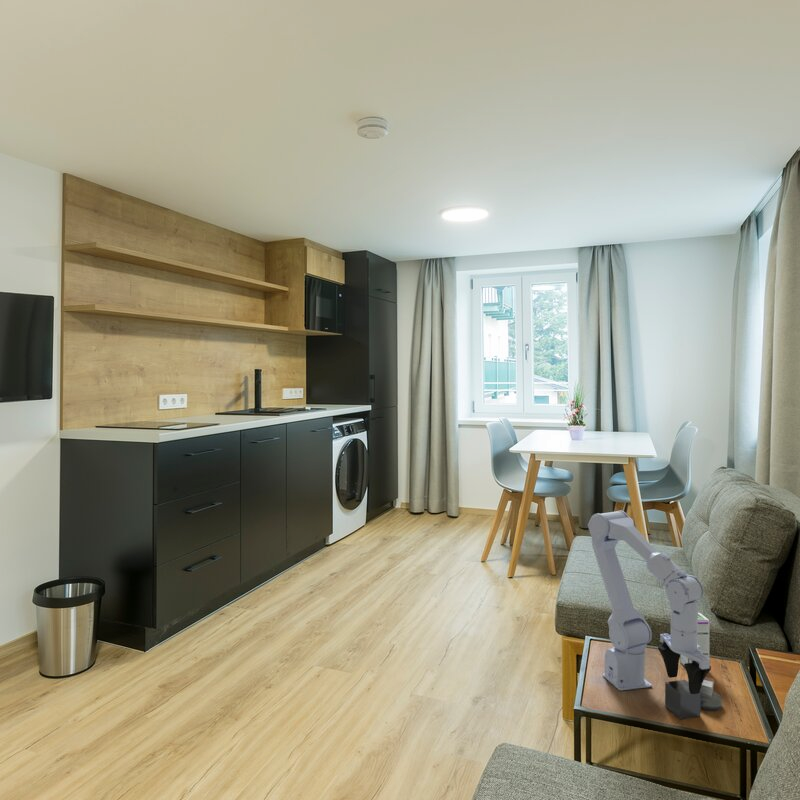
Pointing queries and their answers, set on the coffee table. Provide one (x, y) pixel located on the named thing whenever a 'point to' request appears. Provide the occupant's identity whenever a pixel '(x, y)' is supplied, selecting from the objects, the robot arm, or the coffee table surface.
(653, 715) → the coffee table surface
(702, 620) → the syrup box
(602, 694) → the coffee table surface
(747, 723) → the coffee table surface
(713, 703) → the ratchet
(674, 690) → the socket
